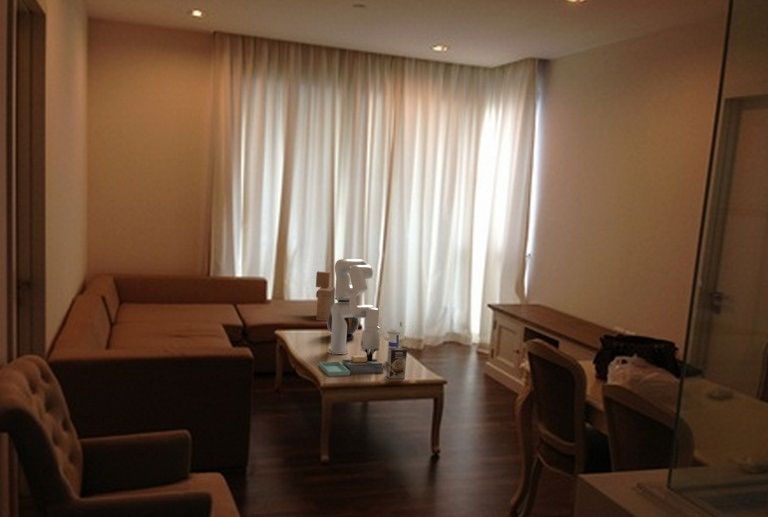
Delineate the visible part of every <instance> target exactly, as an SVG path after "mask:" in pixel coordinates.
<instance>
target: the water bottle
mask: <svg viewBox="0 0 768 517" xmlns="http://www.w3.org/2000/svg"><path fill="white" fill-rule="evenodd" d="M399 327H401V328H402V327H403V323H402V322H399ZM386 333H387V334H388V339H387V341H388V345H387V348H386V358H385V363H386V362H388V352H389V348H400V347H399V346H400V338H399V337H401V331H397V330H396V329H388V330H387V331H386Z"/></svg>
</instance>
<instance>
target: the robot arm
mask: <svg viewBox="0 0 768 517" xmlns="http://www.w3.org/2000/svg"><path fill="white" fill-rule="evenodd" d="M334 273H335V286H334V287H335V293H334V298H335V297H336V299H337V300H350V301H349V302H338V301H337V300H336V299H335V300H336V301H337V302H334V304H333V305H332V307H331V313H332V332H330V334H331V337H330V348H329V349H327V352H328V354H331V353H332V354H331V355H337V354H343V355H347V354H348V353H349V350H348V349H347V347H346V346H347V340H346V337H347V323H346V321H345V320H344V318H346V317H354V318H358V319H365V320H364V330H363V331H362V332H361V333H362V334H361V338H360V347H361V348H360V351H362V352H365V353H366V356H367V360H368V361H372V359H373V355H374V353H375V352H377V351H379V350H380V343H381V342H380V331H379V330H381V327H379V315H380V310H379V308H378V307H375V306H374V305H373V304H361V303H360V301H361V295H362V294H363V293H365V292H366V291H367V290H368V284H367V281H366V280H370V279H372V277H373V274H374V271H373V268H372V266H371V265H370V264H369V263H367V262H366V261H365V260H363V259H360V258H341V259H338V260H337V261H336V262H335V264H334ZM350 281H351V284H350Z"/></svg>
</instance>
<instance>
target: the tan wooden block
mask: <svg viewBox="0 0 768 517" xmlns="http://www.w3.org/2000/svg"><path fill="white" fill-rule="evenodd" d="M359 356H360V357H361V359H360V363H367V355H359Z"/></svg>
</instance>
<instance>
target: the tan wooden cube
mask: <svg viewBox="0 0 768 517" xmlns="http://www.w3.org/2000/svg"><path fill="white" fill-rule="evenodd" d="M360 356H361V355H357V354H356V355H351V358H350V359H351V363H360V359H361V357H360Z"/></svg>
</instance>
